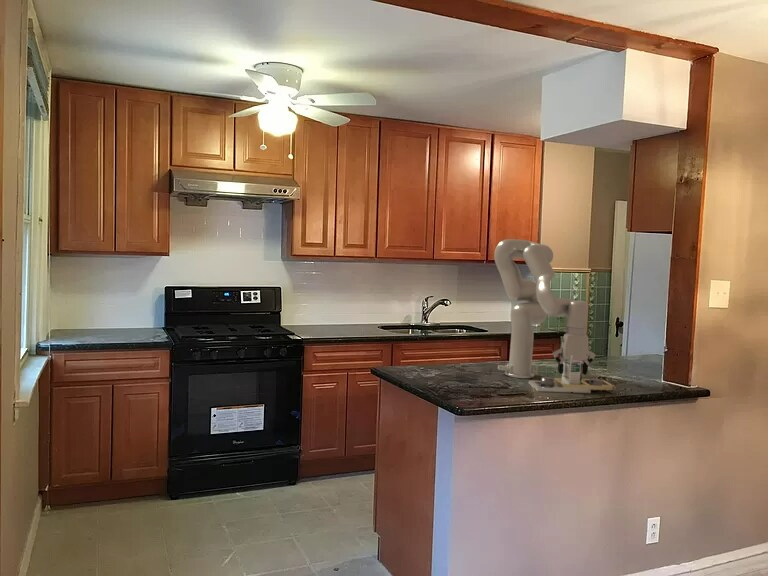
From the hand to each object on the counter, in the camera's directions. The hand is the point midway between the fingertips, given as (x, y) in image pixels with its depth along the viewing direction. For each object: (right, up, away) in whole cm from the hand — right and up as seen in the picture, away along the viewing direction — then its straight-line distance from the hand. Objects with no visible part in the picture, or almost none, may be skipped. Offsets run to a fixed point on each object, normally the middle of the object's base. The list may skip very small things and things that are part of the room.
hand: (572, 373), depth 248 cm
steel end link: (-5, -6, 0) cm, 8 cm away
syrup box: (-1, -6, +1) cm, 6 cm away
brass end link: (+5, -7, +1) cm, 8 cm away
